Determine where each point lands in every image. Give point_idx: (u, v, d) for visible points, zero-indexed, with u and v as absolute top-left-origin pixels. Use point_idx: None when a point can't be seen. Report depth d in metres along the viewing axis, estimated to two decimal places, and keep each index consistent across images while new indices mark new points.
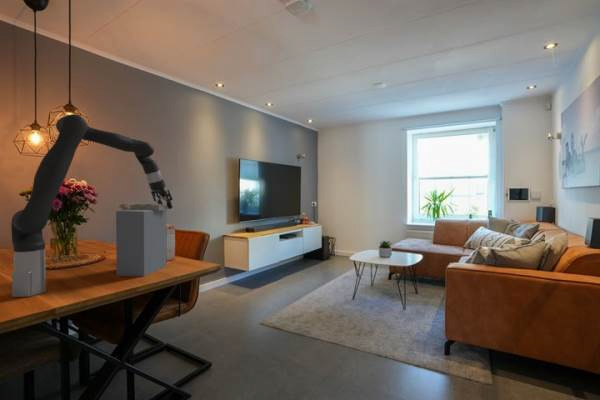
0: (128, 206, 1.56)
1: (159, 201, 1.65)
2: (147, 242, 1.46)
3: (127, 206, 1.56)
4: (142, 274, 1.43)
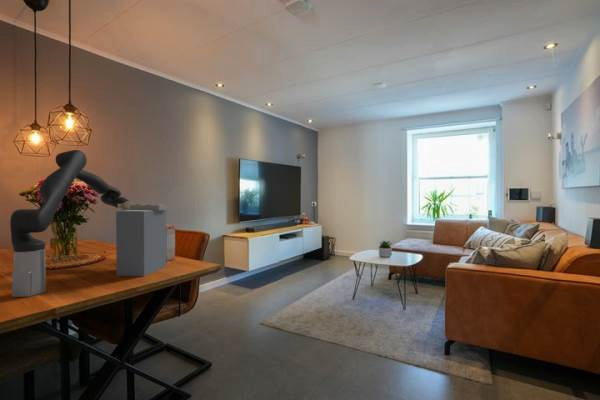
0: (128, 206, 1.56)
1: None
2: (147, 242, 1.46)
3: (127, 206, 1.56)
4: (142, 274, 1.43)
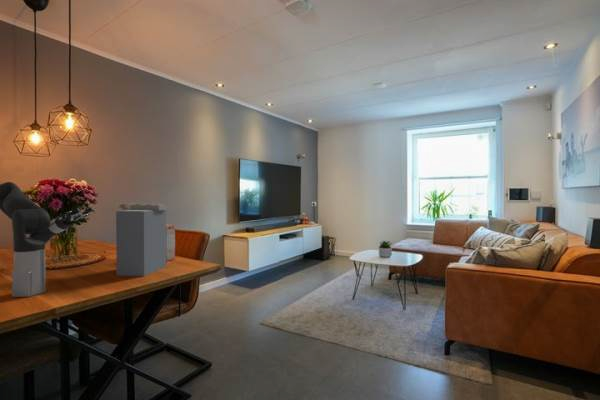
0: (128, 206, 1.56)
1: None
2: (147, 242, 1.46)
3: (127, 206, 1.56)
4: (142, 274, 1.43)
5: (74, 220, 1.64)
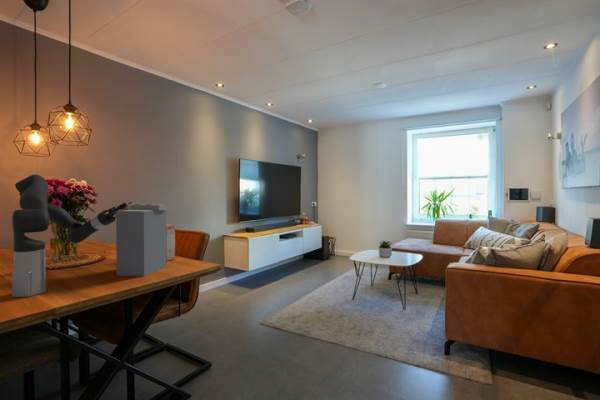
0: (128, 206, 1.56)
1: None
2: (147, 242, 1.46)
3: (127, 206, 1.56)
4: (142, 274, 1.43)
5: (115, 216, 1.63)
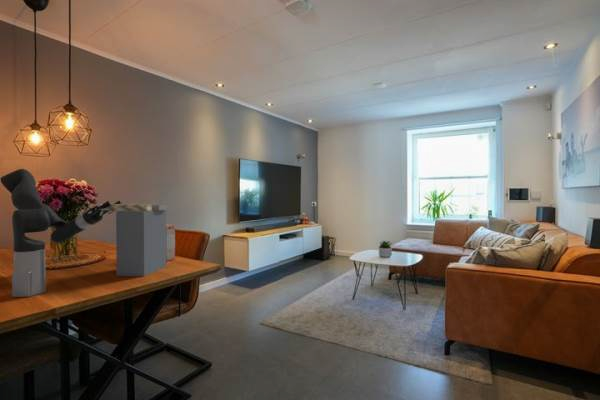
0: (115, 206, 1.47)
1: None
2: (147, 242, 1.46)
3: (114, 207, 1.47)
4: (142, 274, 1.43)
5: (102, 215, 1.53)
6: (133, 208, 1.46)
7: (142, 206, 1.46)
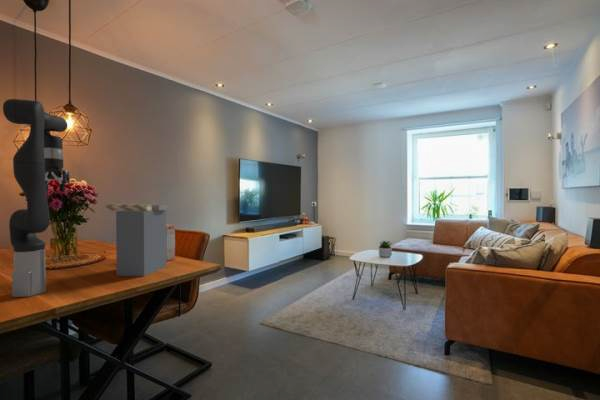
0: (115, 206, 1.47)
1: (45, 183, 1.45)
2: (147, 242, 1.46)
3: (114, 207, 1.47)
4: (142, 274, 1.43)
5: (61, 168, 1.45)
6: (133, 208, 1.46)
7: (142, 206, 1.46)
